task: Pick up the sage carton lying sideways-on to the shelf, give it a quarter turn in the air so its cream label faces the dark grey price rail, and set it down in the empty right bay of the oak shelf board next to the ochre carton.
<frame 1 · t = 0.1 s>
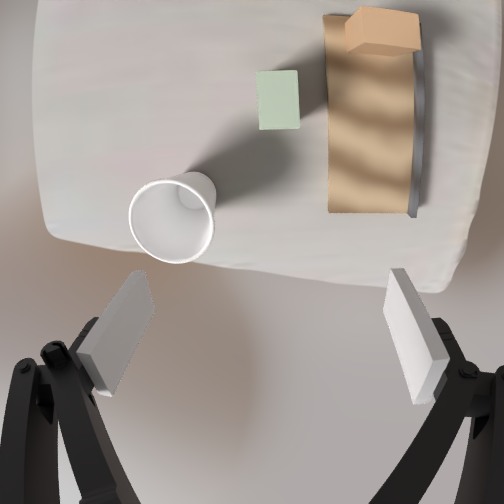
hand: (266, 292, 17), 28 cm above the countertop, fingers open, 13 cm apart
cup: (195, 192, 44), on the countertop
carton: (279, 98, 37), on the countertop
faced carton: (369, 39, 31), point 1 cm above the countertop, touching shelf
shelf: (373, 115, 37), on the countertop
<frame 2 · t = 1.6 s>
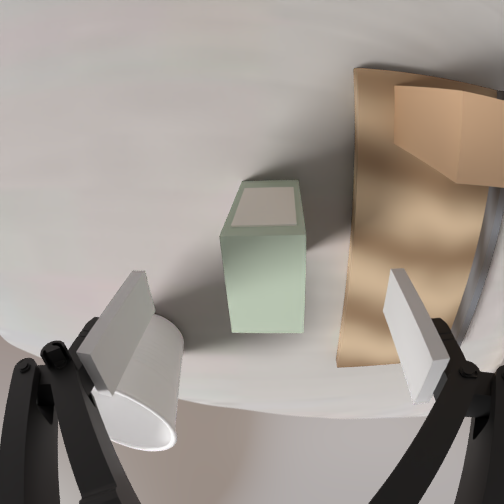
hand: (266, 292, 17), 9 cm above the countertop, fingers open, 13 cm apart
cup: (156, 332, 31), on the countertop
carton: (271, 219, 24), on the countertop
faced carton: (433, 118, 18), point 1 cm above the countertop, touching shelf
shelf: (419, 241, 24), on the countertop
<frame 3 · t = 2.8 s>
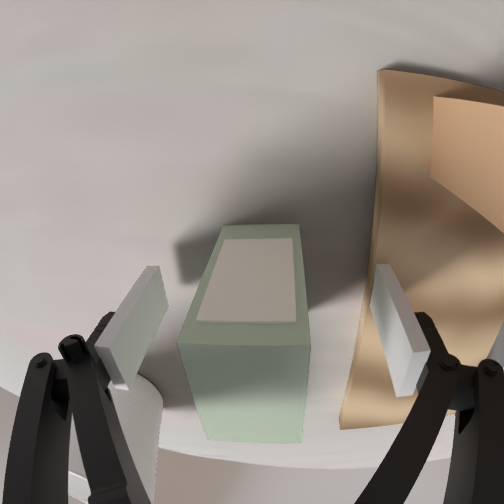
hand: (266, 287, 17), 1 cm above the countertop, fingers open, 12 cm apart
cup: (132, 387, 26), on the countertop
carton: (263, 273, 19), on the countertop
faced carton: (480, 143, 13), point 1 cm above the countertop, touching shelf
shelf: (447, 295, 18), on the countertop
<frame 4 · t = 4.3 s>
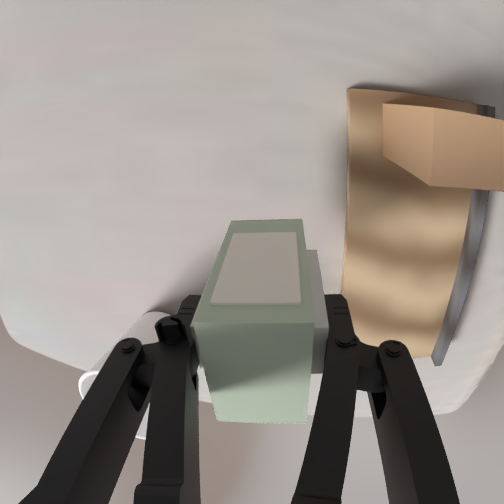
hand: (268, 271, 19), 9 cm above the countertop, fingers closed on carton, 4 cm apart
cup: (165, 331, 34), on the countertop
carton: (268, 266, 20), point 8 cm above the countertop, touching gripper
faced carton: (418, 132, 21), point 1 cm above the countertop, touching shelf
shelf: (408, 244, 27), on the countertop
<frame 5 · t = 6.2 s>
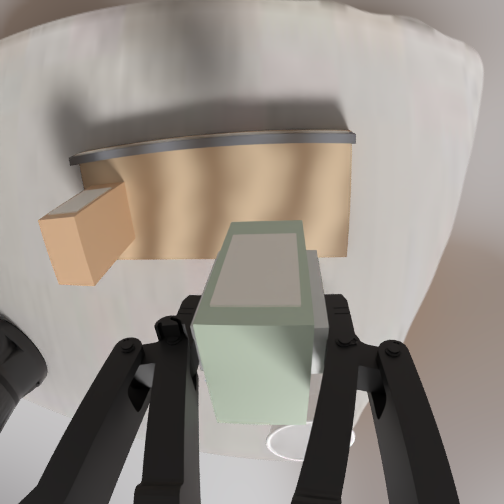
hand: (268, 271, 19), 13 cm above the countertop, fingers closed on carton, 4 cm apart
cup: (308, 371, 41), on the countertop
carton: (268, 267, 20), point 12 cm above the countertop, touching gripper
faced carton: (113, 211, 31), point 1 cm above the countertop, touching shelf
shelf: (209, 196, 31), on the countertop
when the fingers open (3 cm above the countertop, at t = 8.5 s): carton stays where it is, resting on shelf.
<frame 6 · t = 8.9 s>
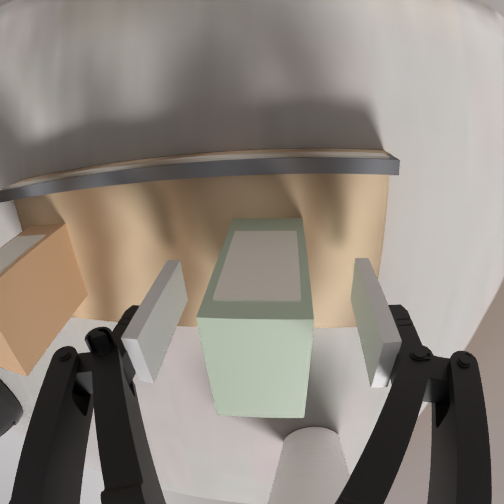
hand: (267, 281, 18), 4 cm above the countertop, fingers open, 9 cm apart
cup: (311, 437, 32), on the countertop
carton: (269, 263, 20), point 1 cm above the countertop, touching shelf
faced carton: (57, 260, 22), point 1 cm above the countertop, touching shelf
shelf: (179, 245, 21), on the countertop
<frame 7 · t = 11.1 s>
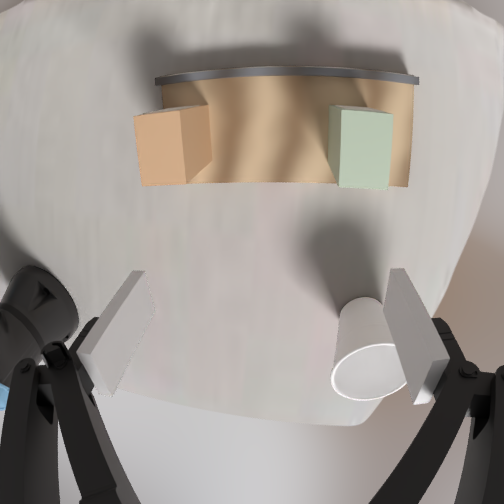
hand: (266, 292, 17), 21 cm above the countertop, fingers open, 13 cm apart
cup: (361, 312, 42), on the countertop
carton: (347, 134, 30), point 1 cm above the countertop, touching shelf
faced carton: (192, 133, 32), point 1 cm above the countertop, touching shelf
shelf: (288, 124, 32), on the countertop
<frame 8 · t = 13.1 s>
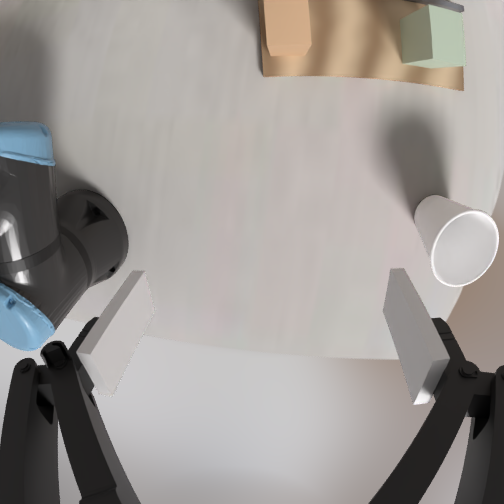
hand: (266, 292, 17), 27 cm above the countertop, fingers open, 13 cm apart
cup: (431, 214, 41), on the countertop
carton: (415, 43, 29), point 1 cm above the countertop, touching shelf
faced carton: (286, 32, 31), point 1 cm above the countertop, touching shelf
shelf: (367, 33, 31), on the countertop
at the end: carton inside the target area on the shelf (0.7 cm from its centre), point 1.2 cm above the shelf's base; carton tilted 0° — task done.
